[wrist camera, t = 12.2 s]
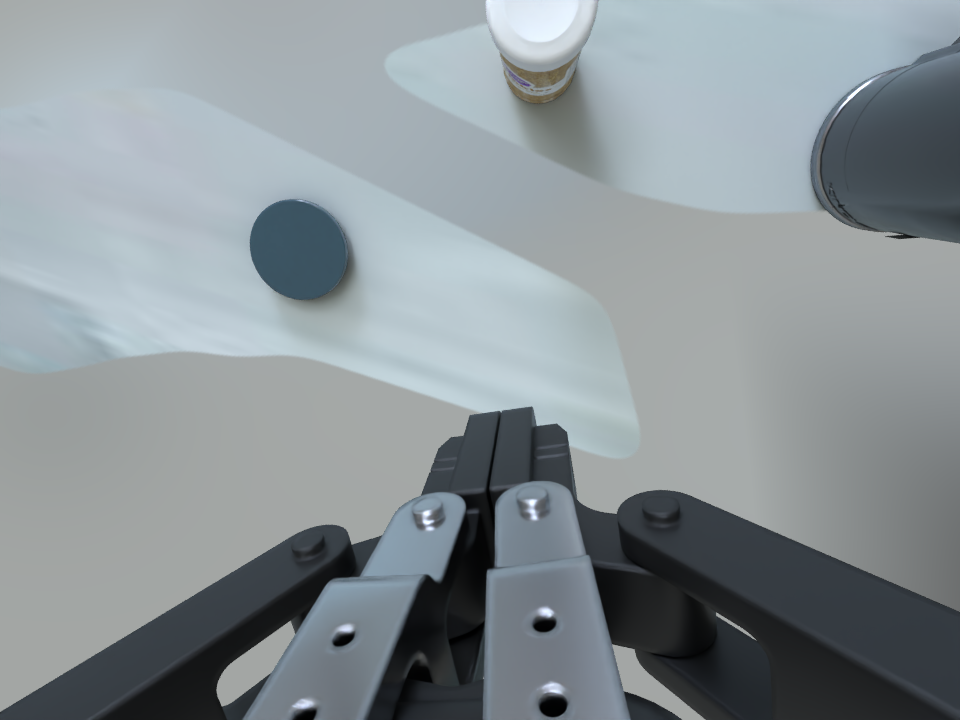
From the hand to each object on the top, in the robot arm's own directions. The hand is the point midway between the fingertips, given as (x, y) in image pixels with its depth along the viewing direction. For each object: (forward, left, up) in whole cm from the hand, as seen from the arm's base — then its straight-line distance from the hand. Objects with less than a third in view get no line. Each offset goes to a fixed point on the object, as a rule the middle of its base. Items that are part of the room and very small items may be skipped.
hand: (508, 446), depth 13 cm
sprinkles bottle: (-10, -8, -27) cm, 30 cm away
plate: (+10, -13, -27) cm, 32 cm away
